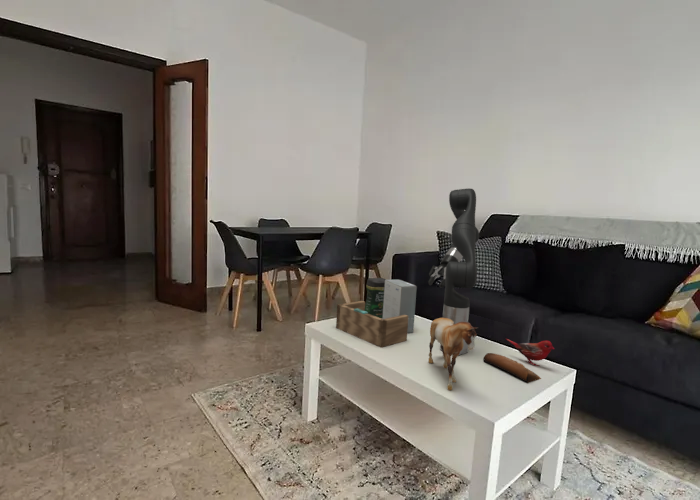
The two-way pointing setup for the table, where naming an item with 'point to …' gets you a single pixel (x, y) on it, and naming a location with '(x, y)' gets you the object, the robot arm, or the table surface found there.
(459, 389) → the table surface
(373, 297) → the coffee jar
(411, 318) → the hard drive box
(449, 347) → the horse figurine
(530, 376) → the sunglasses case
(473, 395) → the table surface
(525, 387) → the table surface
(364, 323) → the wooden box
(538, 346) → the decorative bird figurine
